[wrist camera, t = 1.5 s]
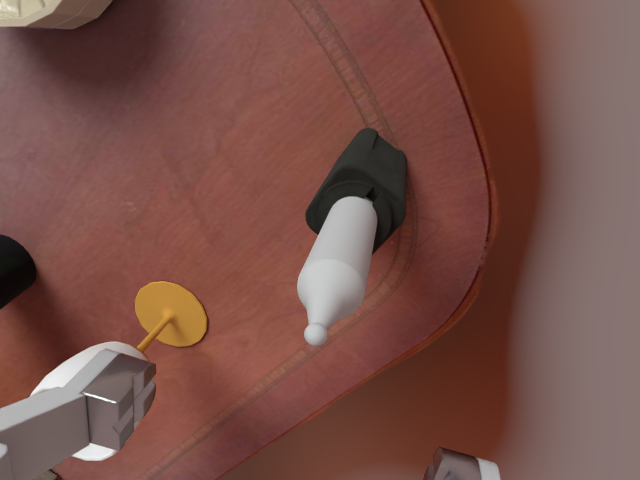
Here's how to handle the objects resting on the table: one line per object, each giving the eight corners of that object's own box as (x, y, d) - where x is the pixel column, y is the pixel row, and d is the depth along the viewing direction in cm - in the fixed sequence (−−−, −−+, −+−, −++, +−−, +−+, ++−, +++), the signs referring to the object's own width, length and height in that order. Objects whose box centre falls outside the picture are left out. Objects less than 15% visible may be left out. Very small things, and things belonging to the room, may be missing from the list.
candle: (412, 159, 36) (419, 340, 14) (374, 202, 38) (328, 418, 16) (365, 122, 36) (295, 249, 13) (330, 168, 38) (219, 342, 15)
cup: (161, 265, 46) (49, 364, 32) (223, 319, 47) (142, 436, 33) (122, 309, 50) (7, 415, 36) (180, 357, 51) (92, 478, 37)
